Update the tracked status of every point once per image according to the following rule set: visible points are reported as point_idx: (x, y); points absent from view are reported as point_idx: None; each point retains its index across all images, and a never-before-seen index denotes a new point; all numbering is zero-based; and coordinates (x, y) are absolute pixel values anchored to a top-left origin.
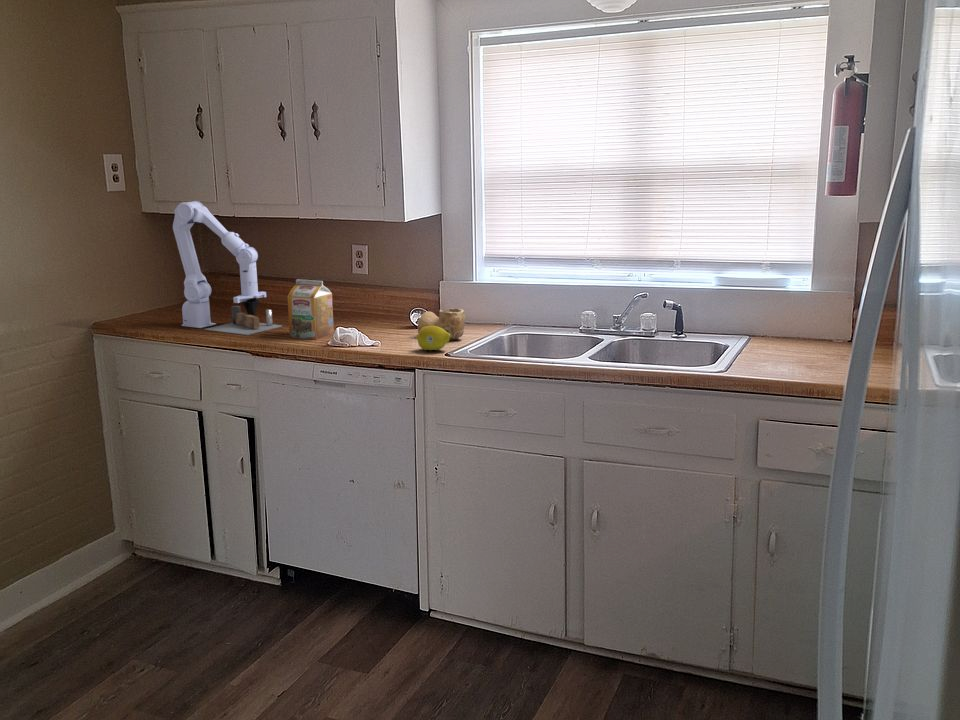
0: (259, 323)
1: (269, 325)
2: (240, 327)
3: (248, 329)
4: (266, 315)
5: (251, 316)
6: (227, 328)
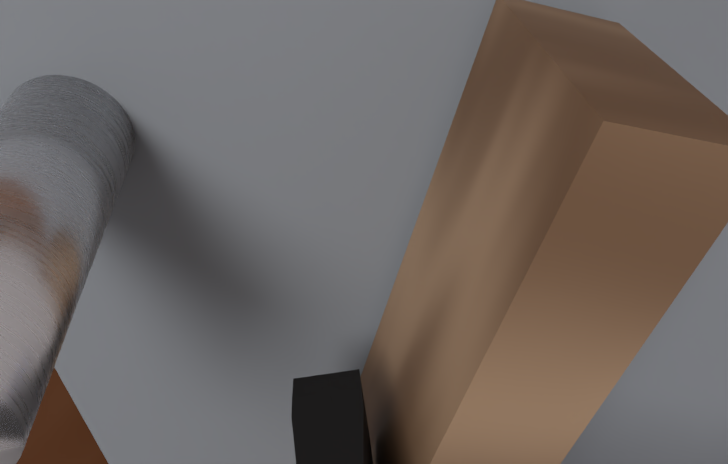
0: (113, 386)
1: (104, 97)
2: None
3: None
4: (75, 306)
5: (583, 347)
6: (646, 413)
